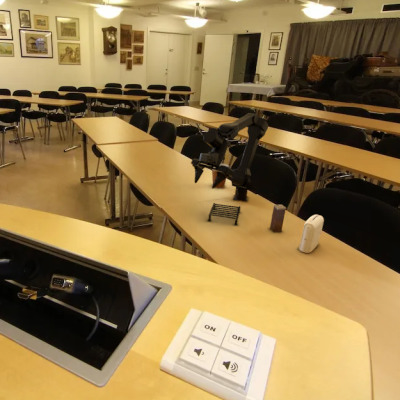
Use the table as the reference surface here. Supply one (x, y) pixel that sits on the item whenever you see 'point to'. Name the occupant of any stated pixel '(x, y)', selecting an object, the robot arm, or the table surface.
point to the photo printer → (311, 233)
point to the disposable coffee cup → (214, 174)
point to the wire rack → (224, 212)
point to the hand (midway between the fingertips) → (203, 185)
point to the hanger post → (277, 218)
